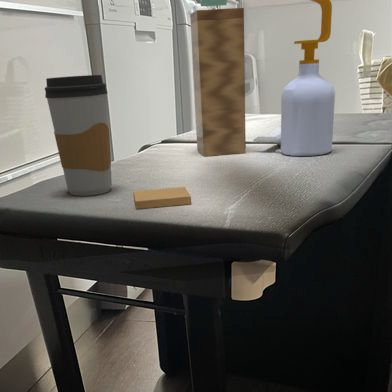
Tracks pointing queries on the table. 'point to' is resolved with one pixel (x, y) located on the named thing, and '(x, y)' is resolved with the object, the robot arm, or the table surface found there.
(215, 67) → the stand
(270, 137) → the toy fish
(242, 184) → the table surface
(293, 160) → the table surface
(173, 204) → the tan flat block
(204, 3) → the mint green chair
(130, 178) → the table surface
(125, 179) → the table surface
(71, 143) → the coffee cup
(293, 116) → the soap bottle
